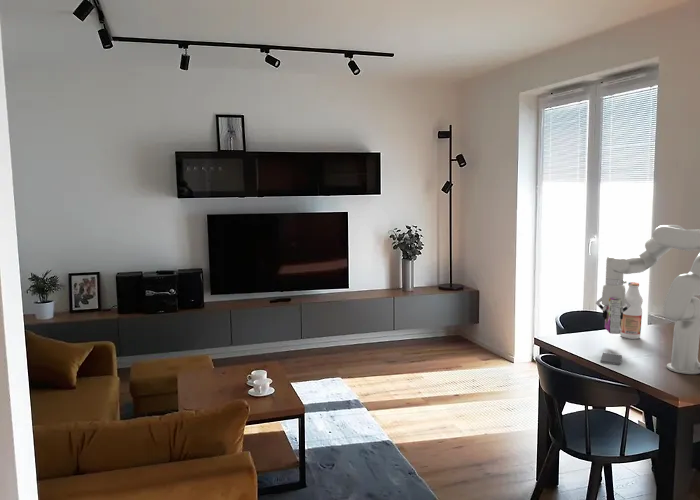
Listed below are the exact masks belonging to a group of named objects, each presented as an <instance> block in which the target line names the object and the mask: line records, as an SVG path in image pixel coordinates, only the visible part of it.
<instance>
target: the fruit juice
mask: <svg viewBox="0 0 700 500" xmlns="http://www.w3.org/2000/svg"><path fill="white" fill-rule="evenodd" d="M639 287H640V283H639V282H634V281H632V282H631V281H630V282H628V288H627V291H626V292H625V297H626V298H625V299H626V300H627V301H628V302H629V303H630V304H631V307H630V308H628V309H627V310H626V311H624V312H623V319H621V325H620V334H619V335H620V337H622V338H625V339H631V340H638V339H640V338H641V332H642V331H641V330H642V320H643V319H642V318H643V309H642V305H643V302H644V300H643V297H642V296H641V294H640V290H639ZM626 306H627V304H626V303H625V305H624V306H623V308H624V307H626Z"/></svg>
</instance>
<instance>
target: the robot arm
mask: <svg viewBox="0 0 700 500" xmlns="http://www.w3.org/2000/svg"><path fill="white" fill-rule="evenodd" d="M651 237H652V238H650V239H649V240H647V241H646V242H645V244H644V248H645V251H643V252H642V253H641V254H639V255H638V256H629V257H623V256H619V255H618V256H617V255H609V256H607V257H606V263H605V264H606V265H605V266H606V267H605V283H603V286H602V291H601V293H602V294H601V297H600V298H599V299H598V300H596V301H595V304H596V305H597V306H598V307H599V309H600V310H601V311H602V318H603V320H604V321H605V319H606V307H607V306H608V304H609V298H618V299H621V300H622V301H621V319H623V312H624V311H626V310H627V309H628V308H630V307H631V304H630V303H629V302H628V301H627V300H626V299H625V298H626V297H625V294H626V286H625V285H624V284H627V280H625V279H624V275H630V274H631V275H632V274H640V273H644V272H645V271H647V270H648V269H651V268H652V267H653V266H654V265H656V264H657V263H658V262H659V260H660V259H661V257H662V256H663V255H665V254H667V253H668V252H669V251H671V250H672V249H676V250H681V251H685V252H686V251H688V252H689V251H690V252H693V251H700V228H698V229H697V228H696V229H685V228H684V227H683V226H681V225H679V224H662V225H659V226H658V227H656V228H655V229H654V230H653V232H652V236H651ZM698 296H700V252H699V253H698V255H697V256H696V257H695V259H694V261H693V262H692V266H691V268H690V270H689V272H688V273H682V274H679V275H677V276H676V277H675V278H674V279H673V280H672V282H671V283H670V286H669V289H668V292H667V293H666V298H665V300H664V303H663V313H664V314H663V315H664V316H665V317H666V318H667V319H668V320H669V321H672V322H674V326H673V334H672V335H673V337H672V345H671V346H672V347H671V349H672V350H671V360H670V362H669V363H667V364H666V368H667V369H668V370H670V371H672V372H675V373H677V374H678V373H679V374H683V375H684V374H685V375H699V374H700V362H699V347H700V298H698ZM625 303H626V304H627V306H626V307H624V308H623V306H624V305H625Z"/></svg>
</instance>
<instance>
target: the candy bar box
mask: <svg viewBox="0 0 700 500" xmlns="http://www.w3.org/2000/svg"><path fill="white" fill-rule="evenodd" d="M621 301H622V300H621V299H618V298H609V304H608V306H607V307H606V319H605V320H604V329H606V331H607V332H608V333H609V334H612V335H613V334H615V335H618V334H619V335H620V328H621Z"/></svg>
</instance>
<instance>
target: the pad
mask: <svg viewBox="0 0 700 500" xmlns="http://www.w3.org/2000/svg"><path fill="white" fill-rule="evenodd" d="M622 358H623V355H622V354H615V353H609V352H602V354H601V357H600V363H602V364H609V365H616V366H621V364H622Z"/></svg>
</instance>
